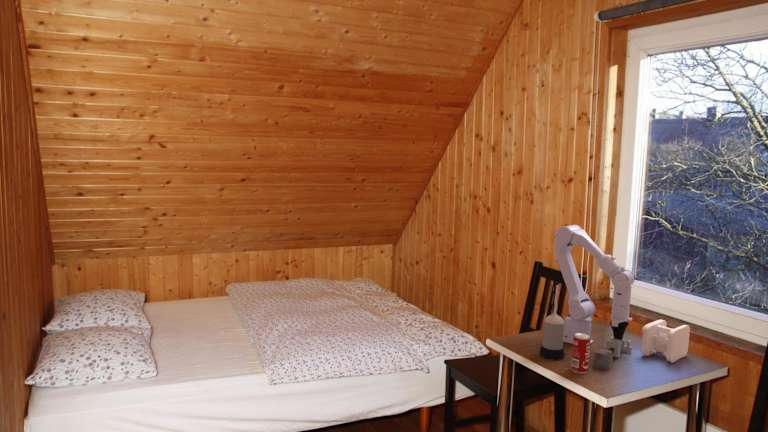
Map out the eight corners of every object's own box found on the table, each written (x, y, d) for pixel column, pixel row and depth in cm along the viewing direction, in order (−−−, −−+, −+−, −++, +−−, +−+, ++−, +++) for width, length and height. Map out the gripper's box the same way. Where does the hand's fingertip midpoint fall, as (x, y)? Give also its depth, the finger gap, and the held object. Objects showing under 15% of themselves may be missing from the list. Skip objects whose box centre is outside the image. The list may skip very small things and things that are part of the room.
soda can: (582, 367, 194) (585, 332, 193) (590, 373, 189) (593, 337, 188) (568, 368, 193) (570, 332, 192) (575, 374, 188) (578, 338, 187)
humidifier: (569, 357, 203) (574, 286, 200) (552, 361, 199) (557, 289, 196) (551, 350, 210) (556, 281, 207) (534, 353, 206) (539, 283, 203)
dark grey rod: (614, 345, 213) (615, 336, 213) (624, 348, 211) (625, 338, 211) (597, 362, 196) (598, 351, 196) (608, 364, 194) (609, 354, 194)
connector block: (596, 364, 198) (597, 349, 197) (611, 367, 195) (612, 353, 194) (593, 366, 195) (594, 352, 195) (609, 370, 192) (610, 355, 192)
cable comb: (608, 347, 216) (609, 335, 215) (631, 352, 211) (632, 340, 210) (607, 348, 214) (608, 337, 213) (630, 353, 209) (631, 342, 209)
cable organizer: (669, 365, 199) (672, 332, 197) (638, 356, 207) (641, 324, 205) (687, 356, 209) (691, 324, 207) (658, 348, 217) (661, 317, 215)
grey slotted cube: (608, 351, 208) (609, 337, 207) (620, 354, 206) (621, 340, 205) (605, 354, 205) (606, 340, 204) (617, 357, 202) (618, 343, 202)
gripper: (627, 310, 200) (624, 349, 201) (637, 302, 211) (634, 339, 213) (606, 307, 204) (603, 344, 205) (617, 298, 215) (614, 334, 217)
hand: (617, 341), depth 209 cm, fingers closed
